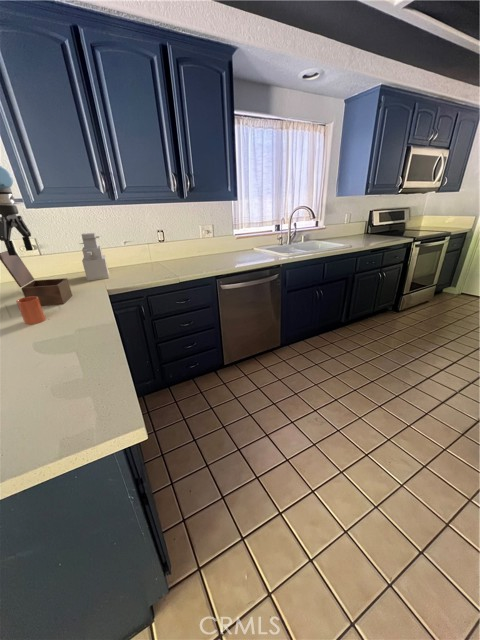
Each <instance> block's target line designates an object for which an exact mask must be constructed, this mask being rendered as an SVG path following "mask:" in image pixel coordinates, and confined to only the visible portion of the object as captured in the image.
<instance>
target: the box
mask: <svg viewBox="0 0 480 640" xmlns="http://www.w3.org/2000/svg"><path fill="white" fill-rule="evenodd" d="M20 288H21V289H20V290H21V292H22V294H23V296H24V297H23V298H25V297H31V296H36V297H38V298H39V301H40V304H41V306H42V307H49V306H59V305H64V304H66V303H67V302H68V301H69V300H70V299H71V298H72V297H73V293H72V290H71V286H70V283H69V279H68V278H67V277H65V278H50V279H48V278H47V279H34V280H33V281H31V282H29V283H27V284H26V285H24V286H22V287H20Z"/></svg>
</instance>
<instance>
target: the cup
mask: <svg viewBox="0 0 480 640" xmlns="http://www.w3.org/2000/svg"><path fill="white" fill-rule="evenodd" d="M15 302H16V305H17V308H18V311H19V312H20V316H21V317H22V320H23V322H24V324H25V325H28V326H29V325H32V326H33V325H37V324H40V323H43V322H44V321H46V320H47V319H46V315H45V313H44V309H43V306H41V304H40V301H39V298H38V297H36V296H31V297H21V298H19V299H17V300H16V301H15Z"/></svg>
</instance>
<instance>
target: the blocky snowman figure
mask: <svg viewBox="0 0 480 640" xmlns="http://www.w3.org/2000/svg"><path fill="white" fill-rule="evenodd" d="M81 239H82V242H81V243H79V245H83V247H82V249H81V251H82V255H83V258H82V260H81V262H82V265H83V270H84V274H85V277H86V281H87V282H88V281H95V280H103V279H104V280H105V279H110V271H109V268H108V262H107V259H106V255H104V254H103V251H102V246H101V245H98V240H97V239H100V236H99V235H97V236H96V233H95V232H87V233H81Z"/></svg>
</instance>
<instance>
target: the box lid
mask: <svg viewBox="0 0 480 640" xmlns="http://www.w3.org/2000/svg"><path fill="white" fill-rule="evenodd" d="M16 254H17V255H11V256H9V253H8V250H5V251H2V252H0V262H1V263H2V264H3V266H4V267H5V269H6V270H7V271H8V274H10V276H11V277H12V279H13V280H14V281H15V283H16V284H17V286H18V287H19V288H22V287H24V286H26V285H27V284H29V283H31V282H32V281H34V280H35V278H34V276H33V275H32V273H31V271H29V269H28V267H27V265H26V264H25V263H24V261H23V260H22V258H21V257H20V256H19V254H18V252H16Z"/></svg>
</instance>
